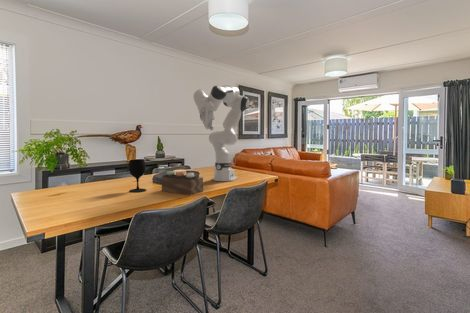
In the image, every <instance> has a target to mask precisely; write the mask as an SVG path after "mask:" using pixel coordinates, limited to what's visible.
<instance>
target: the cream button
mask: <svg viewBox="0 0 470 313" xmlns="http://www.w3.org/2000/svg"><path fill="white" fill-rule="evenodd" d="M185 176H186V177H187V178H192V177H195V173H194V172H186V173H185Z"/></svg>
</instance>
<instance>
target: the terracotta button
mask: <svg viewBox="0 0 470 313" xmlns="http://www.w3.org/2000/svg"><path fill="white" fill-rule="evenodd" d="M175 175H176V176H185V172H184V171H176V173H175Z"/></svg>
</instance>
